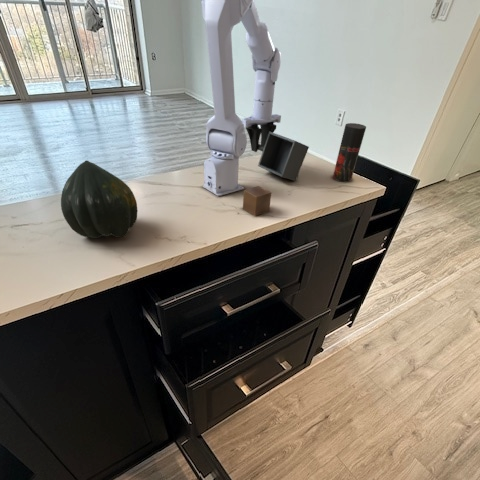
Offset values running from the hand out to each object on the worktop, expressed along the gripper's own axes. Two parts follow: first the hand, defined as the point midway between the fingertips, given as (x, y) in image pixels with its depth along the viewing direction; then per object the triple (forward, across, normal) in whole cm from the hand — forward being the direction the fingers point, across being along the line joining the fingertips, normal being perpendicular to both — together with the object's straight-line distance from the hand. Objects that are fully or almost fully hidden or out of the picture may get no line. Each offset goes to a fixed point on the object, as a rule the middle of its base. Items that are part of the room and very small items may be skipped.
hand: (259, 150), depth 103 cm
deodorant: (+6, -17, +22) cm, 29 cm away
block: (+6, +22, +24) cm, 33 cm away
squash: (+6, +58, +13) cm, 59 cm away
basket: (+1, -4, +7) cm, 8 cm away
